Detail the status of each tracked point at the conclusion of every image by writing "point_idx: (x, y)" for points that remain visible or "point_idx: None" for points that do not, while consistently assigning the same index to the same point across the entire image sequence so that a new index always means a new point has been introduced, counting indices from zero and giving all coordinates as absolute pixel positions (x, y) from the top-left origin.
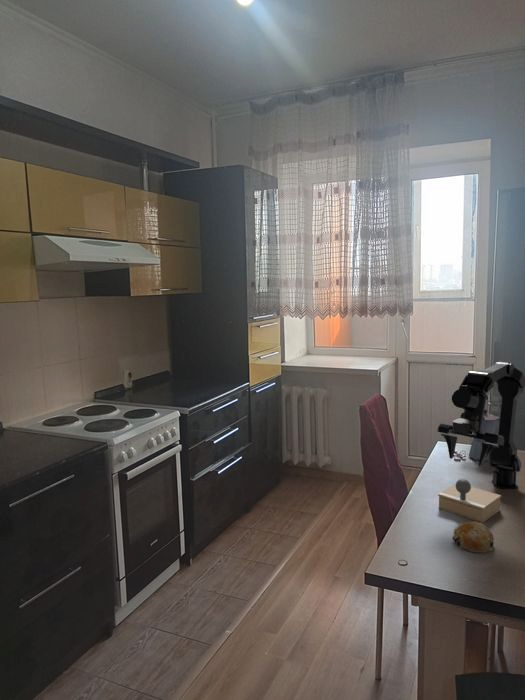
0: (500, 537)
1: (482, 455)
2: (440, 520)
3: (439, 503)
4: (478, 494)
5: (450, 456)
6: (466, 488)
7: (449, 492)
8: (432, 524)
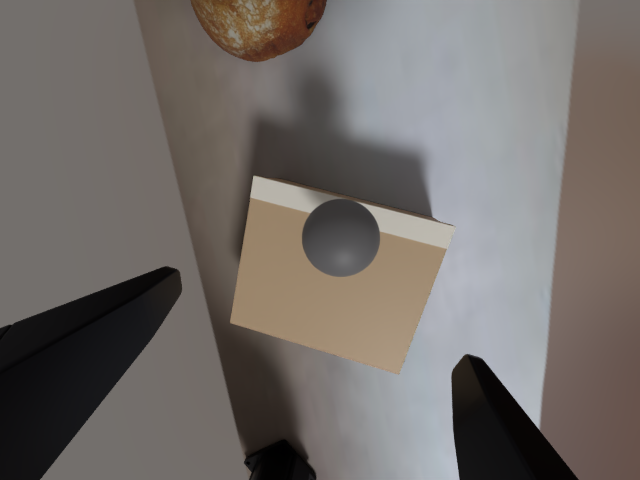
0: (208, 104)
1: (34, 326)
2: (408, 121)
3: (436, 220)
4: (300, 297)
5: (481, 369)
6: (316, 207)
7: (410, 267)
8: (430, 67)
